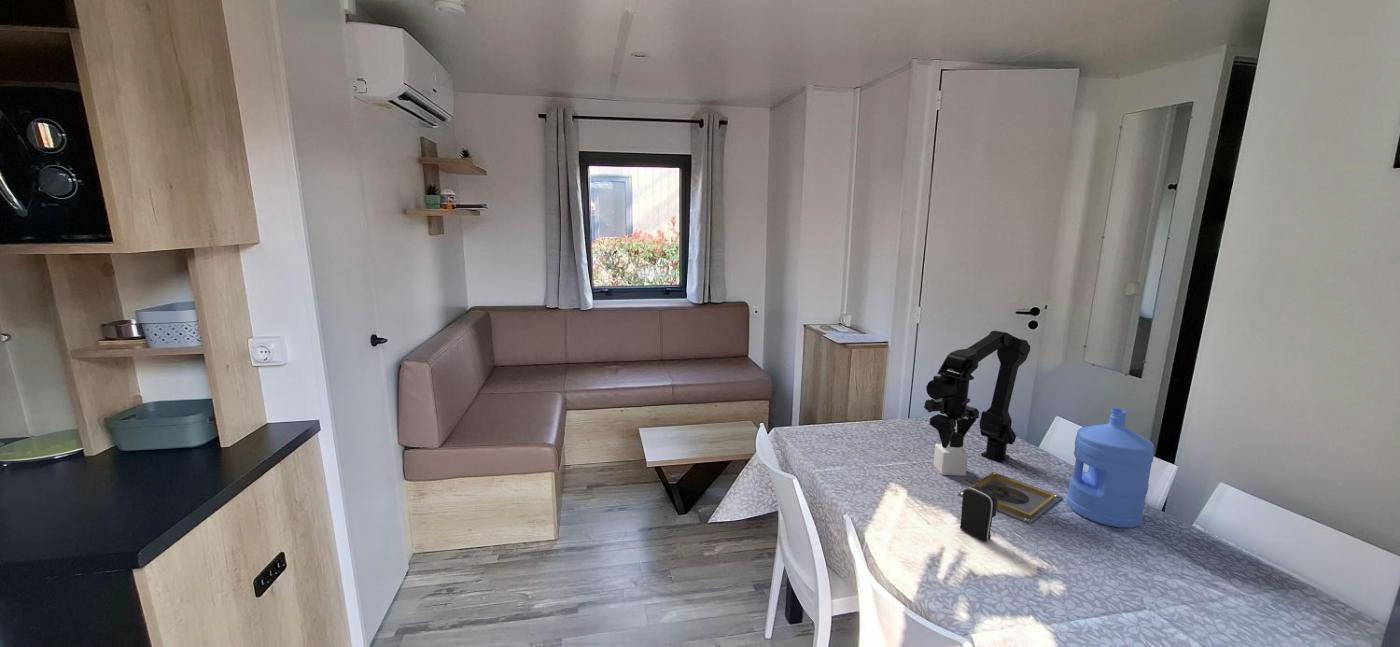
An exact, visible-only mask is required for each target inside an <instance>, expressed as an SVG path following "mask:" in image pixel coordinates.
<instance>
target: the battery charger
mask: <svg viewBox="0 0 1400 647" xmlns="http://www.w3.org/2000/svg"><path fill="white" fill-rule="evenodd" d="M968 487H969V488H968ZM968 487H966V488H965V489H963V490H964V493H963V497H962V502H961V517H960V526H959V528H960V530H961V531H964V532H965V533H967V534H969V535H970V536H972V537H974V538H976V539H978V540H979V541H981V542H984V543H987V542H989V541H990V540H991V536H992V535H991V528H992V523H993V518H994V517H996V516H997V511H996V510H997V499H996V497H995V496H994V495H993V494H991V493H989V492H987V491H985V490H983V489H981V488H978V487H976V486H973V487H970V486H968Z"/></svg>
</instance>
